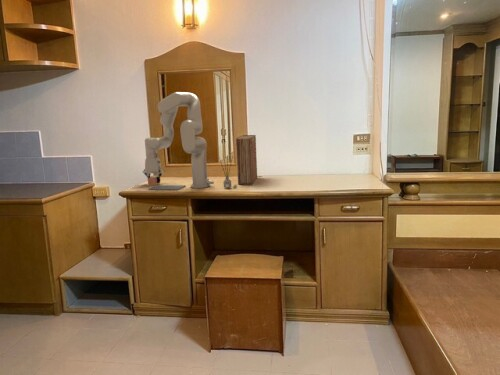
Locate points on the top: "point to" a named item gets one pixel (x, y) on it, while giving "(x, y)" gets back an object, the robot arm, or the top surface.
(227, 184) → the reed diffuser
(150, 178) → the card box
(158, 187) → the mat
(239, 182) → the brown wooden block
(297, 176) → the top surface
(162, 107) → the robot arm
